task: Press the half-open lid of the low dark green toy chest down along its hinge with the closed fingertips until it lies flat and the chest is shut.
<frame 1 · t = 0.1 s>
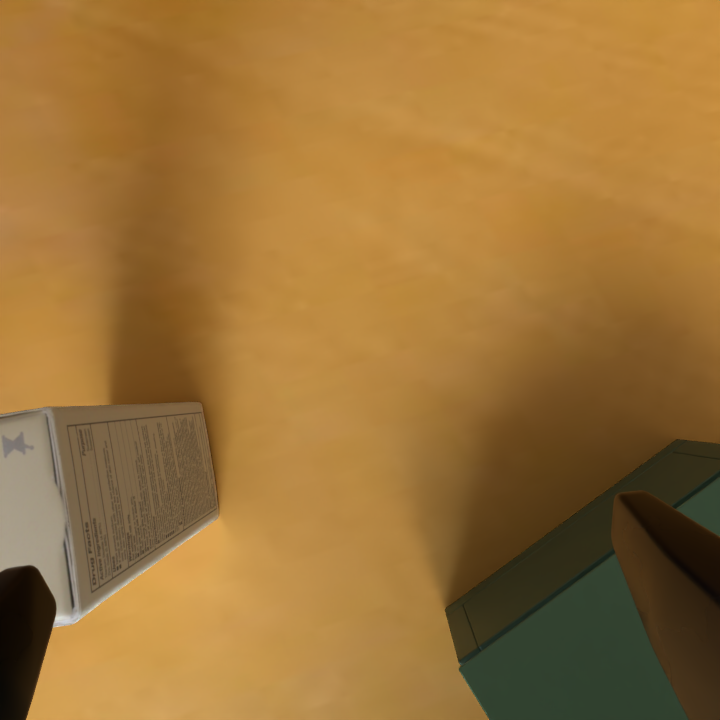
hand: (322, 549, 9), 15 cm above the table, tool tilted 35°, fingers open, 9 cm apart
box: (166, 469, 24), on the table
toy chest: (669, 669, 22), on the table
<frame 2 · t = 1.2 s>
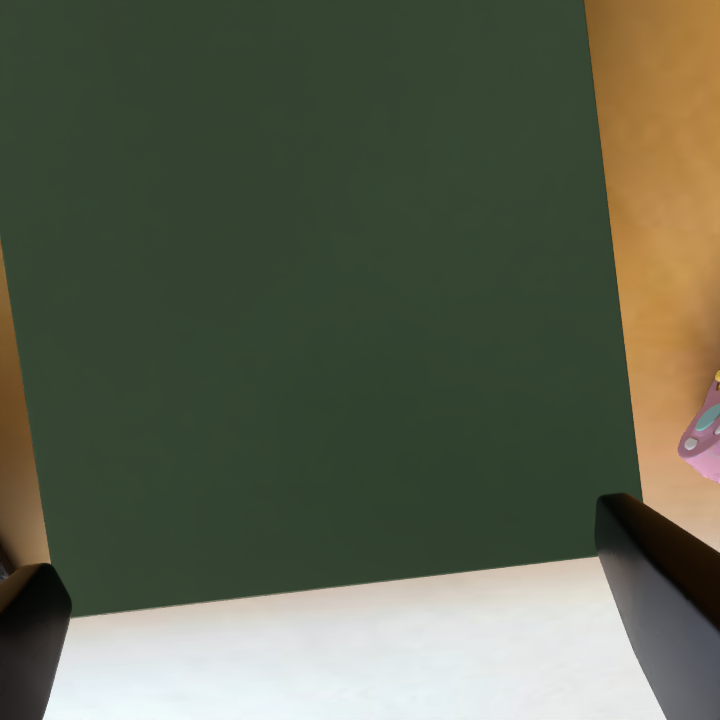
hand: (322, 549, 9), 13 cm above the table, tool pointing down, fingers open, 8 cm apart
lid: (300, 220, 11), point 8 cm above the table, hinge at 25.0°
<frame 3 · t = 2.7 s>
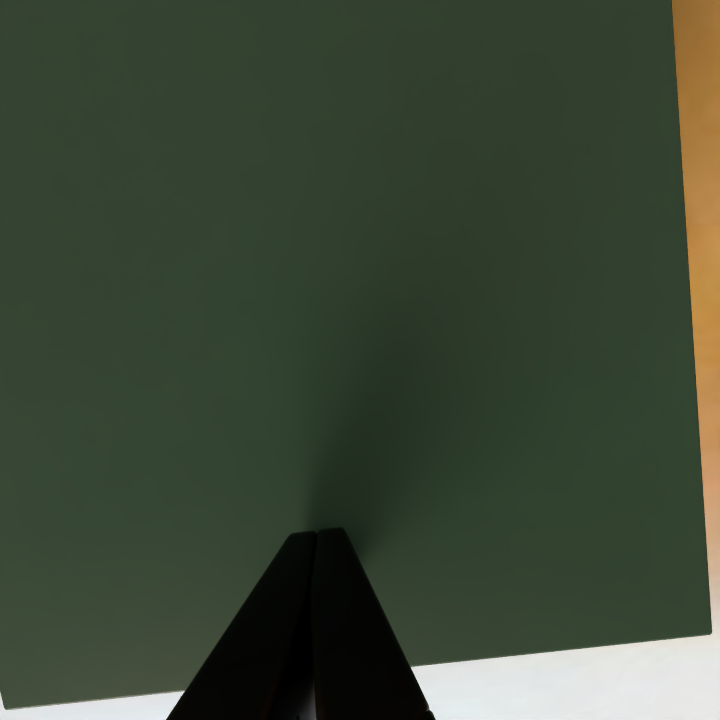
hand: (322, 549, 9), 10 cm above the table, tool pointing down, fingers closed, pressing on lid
lid: (282, 226, 9), point 8 cm above the table, hinge at 19.8°, touching gripper
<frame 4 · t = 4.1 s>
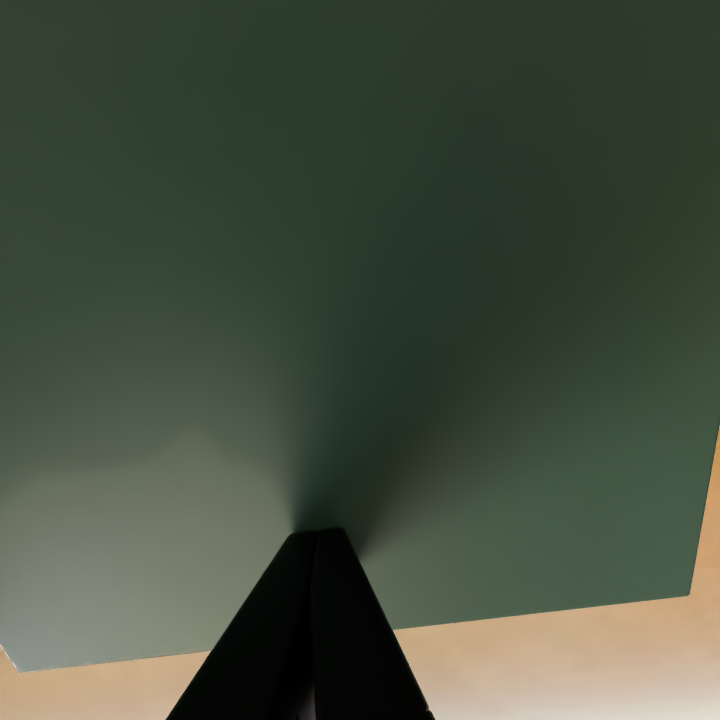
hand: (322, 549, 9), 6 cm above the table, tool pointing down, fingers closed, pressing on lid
lid: (251, 210, 7), point 5 cm above the table, hinge at -0.2°, touching gripper, toy chest
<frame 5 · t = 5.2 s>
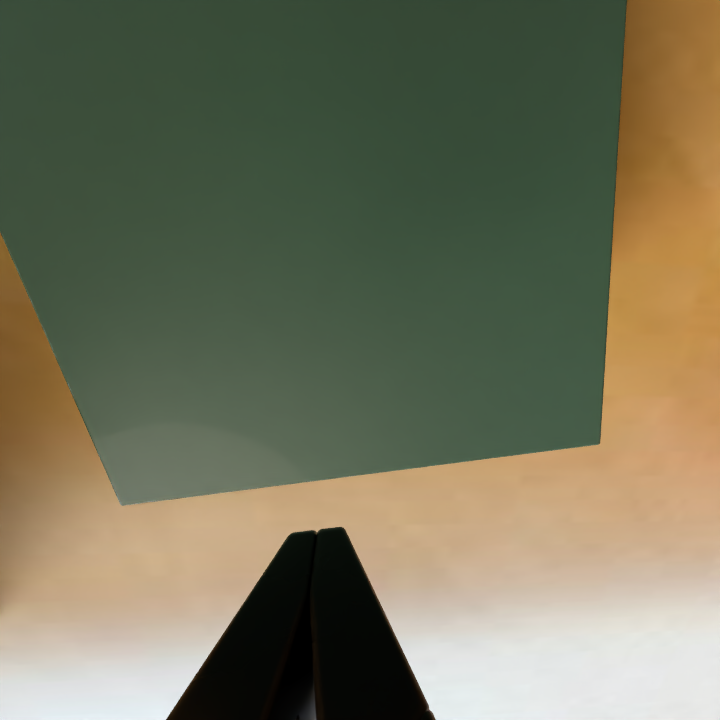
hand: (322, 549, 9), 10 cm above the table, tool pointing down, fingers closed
lid: (298, 162, 11), point 5 cm above the table, hinge at -0.2°, touching toy chest
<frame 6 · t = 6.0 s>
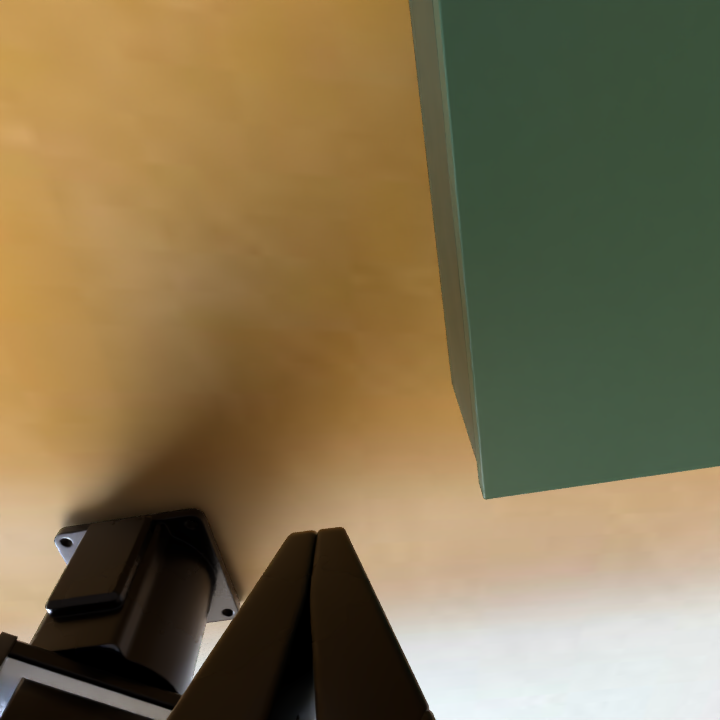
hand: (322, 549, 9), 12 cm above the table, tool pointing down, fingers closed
toy chest: (612, 173, 18), on the table
lid: (700, 228, 14), point 5 cm above the table, hinge at -0.2°, touching toy chest
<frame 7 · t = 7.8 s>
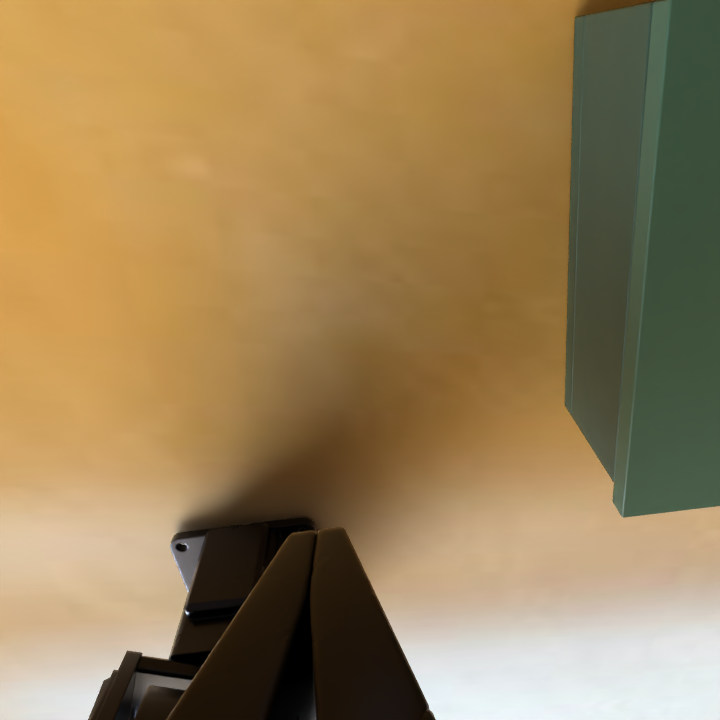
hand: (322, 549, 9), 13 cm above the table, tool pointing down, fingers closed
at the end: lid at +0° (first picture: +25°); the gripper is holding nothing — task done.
